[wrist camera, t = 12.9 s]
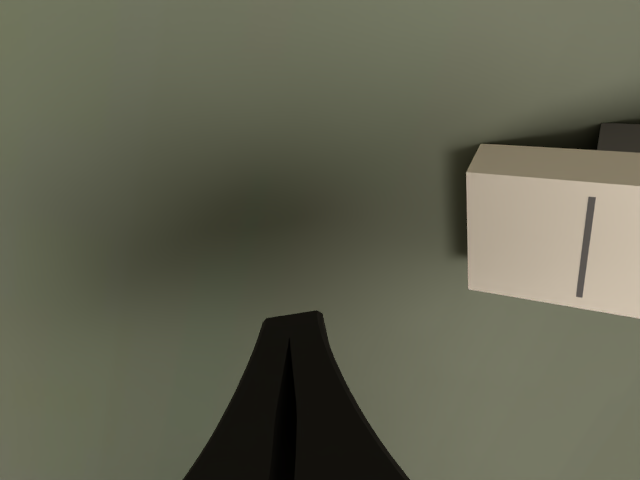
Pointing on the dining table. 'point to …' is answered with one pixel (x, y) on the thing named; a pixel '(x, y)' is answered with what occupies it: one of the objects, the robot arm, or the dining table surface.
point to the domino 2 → (619, 137)
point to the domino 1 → (556, 226)
